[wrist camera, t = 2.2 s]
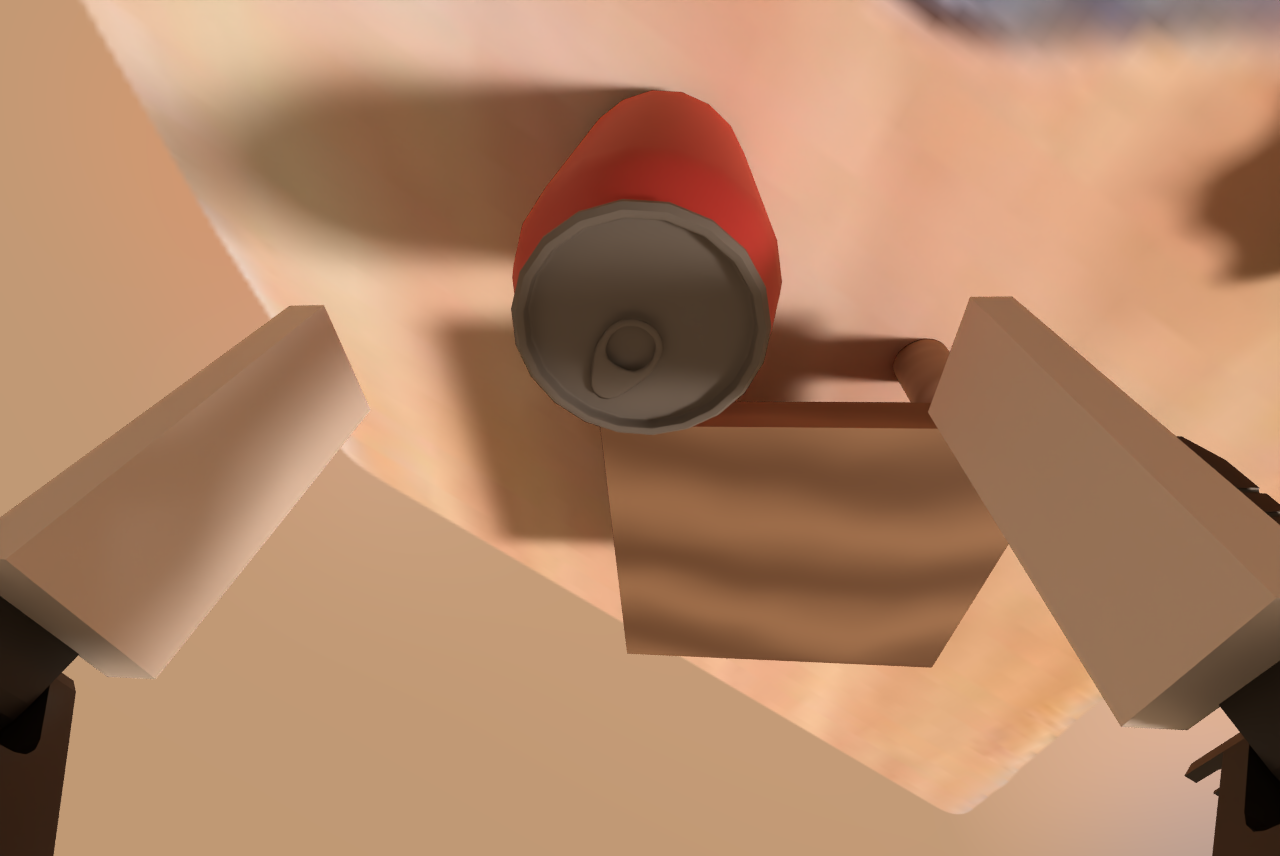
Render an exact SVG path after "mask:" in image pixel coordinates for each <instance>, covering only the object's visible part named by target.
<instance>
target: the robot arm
mask: <svg viewBox="0 0 1280 856" xmlns="http://www.w3.org/2000/svg"><path fill="white" fill-rule="evenodd" d="M370 410H371V409H370V407H369V405H368V403H367V401H366V398H365V396H364V394H363V392H362V389H361V387H360V385H359V383H358V380H357V378H356V376H355V374H354V371H353V369H352V367H351V365H350V363H349V360H348V358H347V356H346V354H345V351H344V349H343V347H342V345H341V342H340V340H339V338H338V336H337V334H336V331H335V329H334V327H333V325H332V322H331V320H330V318H329V316H328V313H327V311H326V309H325V307H324V305H308V306H289V307H287V308H286V309H285V310H283V311H282V312H281V313H279V314H278V315H277V316H275V317H274V318H272V319H271V320H270V321H268V322H267V323H266V324H264V325H263V326H261V327H260V328H259V329H257V330H256V331H255V332H253V333H252V334H251V335H249V336H248V337H247V338H245V339H244V340H242V341H241V342H240V343H239V344H237V345H235V346H234V347H233V348H231V349H230V350H229V351H227V352H226V353H225V354H223V355H222V356H220V357H219V358H218V359H216V360H215V361H214V362H212V363H211V364H209V365H208V366H207V367H205V368H204V369H203V370H201V371H200V372H199V373H197V374H196V375H194V376H193V377H192V378H190V379H189V380H188V381H186V382H185V383H183V384H182V385H181V386H179V387H178V388H177V389H175V390H174V391H173V392H172V393H170V394H169V395H167V396H166V397H164V398H163V399H162V400H160V401H159V402H158V403H156V404H155V405H153V406H152V407H151V408H149V409H148V410H146V411H145V412H144V413H142V414H141V415H140V416H138V417H137V418H136V419H134V420H133V421H131V422H130V423H129V424H127V425H126V426H125V427H123V428H122V429H120V430H119V431H118V432H116V433H115V434H114V435H112V436H111V437H110V438H108V439H107V440H105V441H104V442H103V443H102V444H100V445H99V446H97V447H96V448H95V449H93V450H92V451H90V452H89V453H88V454H86V455H85V456H84V457H82V458H81V459H79V460H78V461H77V462H75V463H74V464H73V465H71V466H70V467H68V468H67V469H66V470H64V471H63V472H62V473H60V474H59V475H58V476H56V477H55V478H53V479H52V480H51V481H49V482H48V483H47V484H45V485H44V486H43V487H41V488H40V489H39V490H37V491H36V492H34V493H33V494H32V495H30V496H29V497H28V498H26V499H25V500H23V501H22V502H21V503H19V504H18V505H16V506H15V507H14V508H12V509H11V510H10V511H8V512H7V513H5V514H4V515H3V516H2V517H0V856H53V854H54V847H55V839H56V832H57V825H58V818H59V810H60V802H61V796H62V787H63V781H64V774H65V766H66V759H67V751H68V745H69V737H70V730H71V723H72V715H73V707H74V701H75V693H76V691H75V686H74V681H73V680H72V679H70V678H69V677H67V676H66V675H64V674H63V673H62V671H64V669H65V668H66V667H67V666H68V665H69V664H70V663H71V662H72V661H73V660H74V659H75V658H76V657H77V656H78V655H79V656H80V657H81V658H83V659H84V660H85V661H87V662H88V663H89V664H91V665H92V666H93V667H95V668H96V669H98V670H99V671H100V672H102V673H103V674H104V675H106V676H107V677H123V678H143V679H156V678H157V677H158V675H159V674H160V673H161V672H162V670H163V669H164V668H165V667H166V665H167V664H168V663H169V662H170V660H171V659H172V658H173V657H174V655H175V654H176V653H177V652H178V650H179V649H180V648H181V647H182V645H183V644H184V643H185V642H186V640H187V639H188V638H189V637H190V635H191V634H192V633H193V632H194V630H195V629H196V628H197V627H198V625H199V624H200V623H201V622H202V620H203V619H204V618H205V616H206V615H207V614H208V613H209V612H210V610H211V609H212V608H213V607H214V605H215V604H216V603H217V602H218V600H219V599H220V598H221V597H222V595H223V594H224V593H225V592H226V590H227V589H228V588H229V587H230V585H231V584H232V583H233V582H234V580H235V579H236V578H237V577H238V575H239V574H240V573H241V572H242V570H243V569H244V568H245V567H246V565H247V564H248V563H249V562H250V560H251V559H252V558H253V557H254V555H255V554H256V553H257V551H258V550H259V549H260V548H261V547H262V545H263V544H264V543H265V542H266V540H267V539H268V538H269V536H270V535H271V534H272V533H273V532H274V530H275V529H276V528H277V527H278V525H279V524H280V523H281V522H282V520H283V519H284V518H285V517H286V515H287V514H288V513H289V512H290V510H291V509H292V508H293V507H294V505H295V504H296V503H297V502H298V500H299V499H300V498H301V497H302V495H303V494H304V493H305V491H306V490H307V489H308V488H309V487H310V485H311V484H312V483H313V482H314V480H315V479H316V478H317V477H318V475H319V474H320V473H321V472H322V470H323V469H324V468H325V467H326V465H327V464H328V463H329V462H330V460H331V459H332V458H333V457H334V455H335V454H336V453H337V452H338V450H339V449H340V448H341V447H342V445H343V444H344V443H345V442H346V440H347V439H348V438H349V437H350V435H351V434H352V433H353V432H354V430H355V429H356V428H357V427H358V425H359V424H360V423H361V422H362V420H363V419H364V418H365V417H366V415H367V414H368V413H369V412H370ZM928 413H929V415H930V417H931V418H932V420H933V421H934V423H935V425H936V426H937V428H938V430H939V431H940V433H941V434H942V436H943V438H944V439H945V441H946V443H947V444H948V446H949V448H950V449H951V451H952V452H953V454H954V456H955V457H956V459H957V461H958V462H959V464H960V465H961V467H962V469H963V470H964V472H965V474H966V475H967V477H968V478H969V480H970V482H971V483H972V485H973V487H974V488H975V490H976V491H977V493H978V495H979V496H980V498H981V500H982V501H983V503H984V504H985V506H986V508H987V509H988V511H989V513H990V514H991V516H992V517H993V519H994V521H995V522H996V524H997V526H998V527H999V529H1000V530H1001V532H1002V534H1003V535H1004V537H1005V539H1006V540H1007V542H1008V543H1009V545H1010V547H1011V548H1012V550H1013V552H1014V553H1015V555H1016V556H1017V558H1018V560H1019V561H1020V563H1021V565H1022V566H1023V568H1024V570H1025V571H1026V573H1027V574H1028V576H1029V578H1030V579H1031V581H1032V583H1033V584H1034V586H1035V587H1036V589H1037V591H1038V592H1039V594H1040V596H1041V597H1042V599H1043V600H1044V602H1045V604H1046V605H1047V607H1048V609H1049V610H1050V612H1051V613H1052V615H1053V617H1054V618H1055V620H1056V622H1057V623H1058V625H1059V626H1060V628H1061V630H1062V631H1063V633H1064V635H1065V636H1066V638H1067V639H1068V641H1069V643H1070V644H1071V646H1072V648H1073V649H1074V651H1075V652H1076V654H1077V656H1078V657H1079V659H1080V661H1081V662H1082V664H1083V665H1084V667H1085V669H1086V670H1087V672H1088V674H1089V675H1090V677H1091V678H1092V680H1093V682H1094V683H1095V685H1096V687H1097V688H1098V690H1099V692H1100V693H1101V695H1102V696H1103V698H1104V700H1105V701H1106V703H1107V705H1108V706H1109V708H1110V709H1111V711H1112V713H1113V714H1114V716H1115V717H1116V719H1117V721H1118V722H1119V724H1120V726H1121V727H1134V728H1155V729H1175V730H1176V729H1177V730H1188V729H1189V728H1191V727H1192V726H1194V725H1195V724H1197V723H1198V722H1199V721H1201V720H1202V719H1203V718H1205V717H1206V716H1208V715H1209V714H1210V713H1212V712H1213V711H1215V710H1216V709H1217V708H1219V707H1221V708H1222V710H1223V711H1224V712H1225V713H1226V714H1227V716H1228V717H1229V719H1230V720H1231V721H1232V722H1233V724H1234V725H1235V726H1236V727H1237V729H1238V730H1239V731H1240V733H1238V734H1237V735H1235V736H1234V737H1232V738H1230V739H1229V740H1228V741H1226V742H1224V743H1223V744H1221V745H1220V746H1218V747H1217V748H1215V749H1214V750H1212V751H1210V752H1209V753H1207V754H1206V755H1204V756H1203V757H1201V758H1200V759H1198V760H1196V761H1195V762H1193V763H1192V764H1191V765H1190V767H1189V769H1188V771H1187V772H1186V774H1185V776H1186V777H1187V778H1189V779H1191V780H1192V781H1194V782H1196V783H1197V782H1198V781H1200V780H1202V779H1203V778H1205V777H1207V776H1208V775H1210V774H1212V773H1213V772H1215V771H1217V770H1218V769H1221V779H1220V788H1218V789H1217V790H1215V791H1214V794H1216V795H1217V796H1219V798H1218V807H1217V817H1216V826H1215V836H1214V845H1213V855H1212V856H1280V504H1278V503H1277V502H1276V501H1275V500H1274V499H1272V498H1271V497H1270V496H1269V495H1268V494H1262V493H1259V487H1258V486H1257V485H1255V484H1254V483H1253V482H1252V481H1250V480H1249V479H1248V478H1247V477H1246V476H1244V475H1243V474H1242V473H1241V472H1239V471H1238V470H1237V469H1236V468H1235V467H1233V466H1232V465H1231V464H1230V463H1228V462H1227V461H1226V460H1224V459H1223V458H1221V457H1219V456H1217V455H1215V454H1213V453H1211V452H1210V451H1208V450H1206V449H1204V448H1202V447H1200V446H1198V445H1197V444H1195V443H1193V442H1191V441H1189V440H1187V439H1185V438H1184V437H1179V436H1175V435H1174V434H1173V433H1171V432H1170V431H1169V430H1168V429H1167V428H1166V427H1164V426H1163V425H1162V424H1161V423H1160V422H1159V421H1157V420H1156V419H1155V418H1154V417H1153V416H1151V415H1150V414H1149V413H1148V412H1147V411H1146V410H1144V409H1143V408H1142V407H1141V406H1140V405H1139V404H1137V403H1136V402H1135V401H1134V400H1133V399H1132V398H1130V397H1129V396H1128V395H1127V394H1126V393H1125V392H1123V391H1122V390H1121V389H1120V388H1119V387H1118V386H1116V385H1115V384H1114V383H1113V382H1112V381H1110V380H1109V379H1108V378H1107V377H1106V376H1105V375H1103V374H1102V373H1101V372H1100V371H1099V370H1098V369H1096V368H1095V367H1094V366H1093V365H1092V364H1091V363H1089V362H1088V361H1087V360H1086V359H1085V358H1084V357H1082V356H1081V355H1080V354H1079V353H1078V352H1077V351H1075V350H1074V349H1073V348H1072V347H1071V346H1069V345H1068V344H1067V343H1066V342H1065V341H1064V340H1062V339H1061V338H1060V337H1059V336H1058V335H1057V334H1055V333H1054V332H1053V331H1052V330H1051V329H1050V328H1048V327H1047V326H1046V325H1045V324H1044V323H1043V322H1041V321H1040V320H1039V319H1038V318H1037V317H1036V316H1034V315H1033V314H1032V313H1031V312H1030V311H1028V310H1027V309H1026V308H1025V307H1024V306H1023V305H1021V304H1020V303H1019V302H1018V301H1017V300H1016V299H1014V298H1013V297H970V299H969V302H968V304H967V307H966V310H965V313H964V315H963V318H962V321H961V324H960V326H959V329H958V332H957V334H956V337H955V340H954V343H953V345H952V348H951V351H950V354H949V356H948V359H947V362H946V364H945V367H944V370H943V373H942V375H941V378H940V381H939V384H938V386H937V389H936V392H935V394H934V397H933V400H932V403H931V405H930V408H929V411H928Z"/></svg>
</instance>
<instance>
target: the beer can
mask: <svg viewBox="0 0 1280 856" xmlns="http://www.w3.org/2000/svg"><path fill="white" fill-rule="evenodd" d="M512 278H513V287H514V299H513V303H512V307H511V311H512V319H513V327H514V335H515V343H516V346H517V348H518V350H519V352H520V354H521V357H522V359H523V361H524V363H525V365H526V367H527V369H528V371H529V373H530V375H531V377H532V378H533V379H534V380H535V381H536V382H537V384H538V385H539V386H540V387H541V388H542V389H543V390H544V391H545V392H546V393H547V394H548V396H549V397H550V398H551V399H552V400H553V401H554V402H555V403H556V404H558V405H560V406H561V407H563V408H564V409H566V410H567V411H569V412H571V413H572V414H574V415H575V416H577V417H578V418H580V419H582V420H583V421H585V422H588V423H591V424H594V425H597V426H600V427H603V428H606V429H609V430H612V431H615V432H620V433H633V434H646V435H656V434H661V433H667V432H673V431H679V430H685V429H688V428H691V427H693V426H695V425H697V424H699V423H702V422H704V421H706V420H708V419H710V418H713V417H715V416H717V415H719V414H720V413H721V412H722V411H724V410H725V409H726V408H727V407H728V406H729V405H731V404H732V403H733V402H734V401H735V400H736V399H738V398H739V397H740V396H741V395H742V394H744V393H745V391H746V390H747V388H748V387H749V385H750V383H751V382H752V380H753V379H754V377H755V375H756V374H757V372H758V370H759V369H760V367H761V366H762V364H763V362H764V358H765V354H766V349H767V345H768V340H769V336H770V334H771V331H772V327H773V322H774V318H775V313H776V309H777V304H778V300H779V295H780V290H781V284H782V278H781V270H780V262H779V253H778V245H777V239H776V236H775V234H774V231H773V228H772V226H771V223H770V221H769V218H768V215H767V213H766V210H765V207H764V205H763V202H762V199H761V197H760V194H759V192H758V189H757V186H756V184H755V181H754V178H753V176H752V173H751V170H750V168H749V165H748V162H747V160H746V157H745V155H744V152H743V150H742V148H741V146H740V144H739V142H738V140H737V138H736V136H735V134H734V132H733V130H732V128H731V126H730V125H729V124H728V123H727V122H726V121H725V120H724V119H723V118H722V117H721V116H720V115H719V114H718V113H717V112H716V111H715V110H714V109H713V108H712V107H711V106H710V105H709V104H707V103H705V102H702V101H700V100H698V99H696V98H694V97H691V96H689V95H687V94H685V93H683V92H671V91H653V90H651V91H648V92H645V93H642V94H639V95H636V96H633V97H630V98H627V99H624V100H622V101H621V102H620V103H618V104H617V105H616V106H614V107H613V108H612V109H611V110H609V111H608V112H607V113H606V114H604V115H603V116H602V117H601V118H599V120H598V121H597V122H596V123H595V125H594V126H593V127H592V129H591V130H590V131H589V132H588V134H587V135H586V136H585V138H584V139H583V140H582V141H581V143H580V144H579V145H578V147H577V148H576V149H575V150H574V152H573V153H572V154H571V156H570V157H569V158H568V159H567V161H566V162H565V163H564V164H563V166H562V167H561V168H560V170H559V171H558V172H557V173H556V175H555V176H554V177H553V179H552V180H551V181H550V182H549V184H548V185H547V186H546V188H545V189H544V191H543V192H542V194H541V196H540V197H539V199H538V200H537V202H536V203H535V205H534V207H533V208H532V210H531V211H530V213H529V215H528V216H527V218H526V219H525V221H524V222H523V224H522V229H521V233H520V238H519V242H518V247H517V252H516V256H515V261H514V267H513V276H512Z"/></svg>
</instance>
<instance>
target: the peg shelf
mask: <svg viewBox="0 0 1280 856" xmlns="http://www.w3.org/2000/svg"><path fill="white" fill-rule="evenodd" d="M949 354H950V352H949V350H948V349H947V348H946V346H945V345H944V344H943V343H941V342H939V341H937V340H933V339H924V340H919V341H916V342H913V343H911V344H909V345H907V346H906V347H905V348H903V349H902V350H901V351H900V352H899V353H898V355H897V356H896V358H895V360H894V363H893V371H894V373H895V375H896V377H897V379H898V381H899V382H900V384H901V386H902V388H903V390H904V391H905V393H906V395H907V397H908V398H909V400H910V402H911V403H909V402H733V403H732V404H731V405H729V406H728V407H727V408H726V409H725V410H724V411H722V412H721V413H720V414H719V415H717V416H715V417H713V418H710V419H708V420H706V421H704V422H702V423H699V424H697V425H695V426H693V427H691V428H688V429H685V430H679V431H673V432H667V433H661V434H656V435H646V434H633V433H620V432H615V431H612V430H609V429H606V428H603V427H600V429H601V437H602V446H603V454H604V462H605V471H606V479H607V488H608V496H609V504H610V513H611V521H612V530H613V538H614V546H615V555H616V563H617V571H618V580H619V588H620V597H621V605H622V613H623V622H624V630H625V639H626V647H627V653H628V654H648V655H649V654H650V655H669V656H691V657H713V658H735V659H757V660H779V661H800V662H822V663H844V664H866V665H888V666H910V667H932V666H933V665H934V663H935V661H936V660H937V658H938V657H939V655H940V653H941V652H942V650H943V649H944V647H945V645H946V644H947V642H948V641H949V639H950V637H951V636H952V634H953V633H954V631H955V629H956V628H957V626H958V625H959V623H960V621H961V620H962V618H963V616H964V615H965V613H966V612H967V610H968V608H969V607H970V605H971V604H972V602H973V600H974V599H975V597H976V596H977V594H978V592H979V591H980V589H981V588H982V586H983V584H984V583H985V581H986V579H987V578H988V576H989V575H990V573H991V571H992V570H993V568H994V567H995V565H996V563H997V562H998V560H999V559H1000V557H1001V555H1002V554H1003V552H1004V551H1005V549H1006V547H1007V546H1008V544H1009V543H1008V542H1007V540H1006V539H1005V537H1004V535H1003V534H1002V532H1001V530H1000V529H999V527H998V526H997V524H996V522H995V521H994V519H993V517H992V516H991V514H990V513H989V511H988V509H987V508H986V506H985V504H984V503H983V501H982V500H981V498H980V496H979V495H978V493H977V491H976V490H975V488H974V487H973V485H972V483H971V482H970V480H969V478H968V477H967V475H966V474H965V472H964V470H963V469H962V467H961V465H960V464H959V462H958V461H957V459H956V457H955V456H954V454H953V452H952V451H951V449H950V448H949V446H948V444H947V443H946V441H945V439H944V438H943V436H942V434H941V433H940V431H939V430H938V428H937V426H936V425H935V423H934V421H933V420H932V418H931V417H930V415H929V413H928V411H929V408H930V405H931V403H932V400H933V397H934V394H935V392H936V389H937V386H938V384H939V381H940V378H941V375H942V373H943V370H944V367H945V364H946V362H947V359H948V356H949Z"/></svg>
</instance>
